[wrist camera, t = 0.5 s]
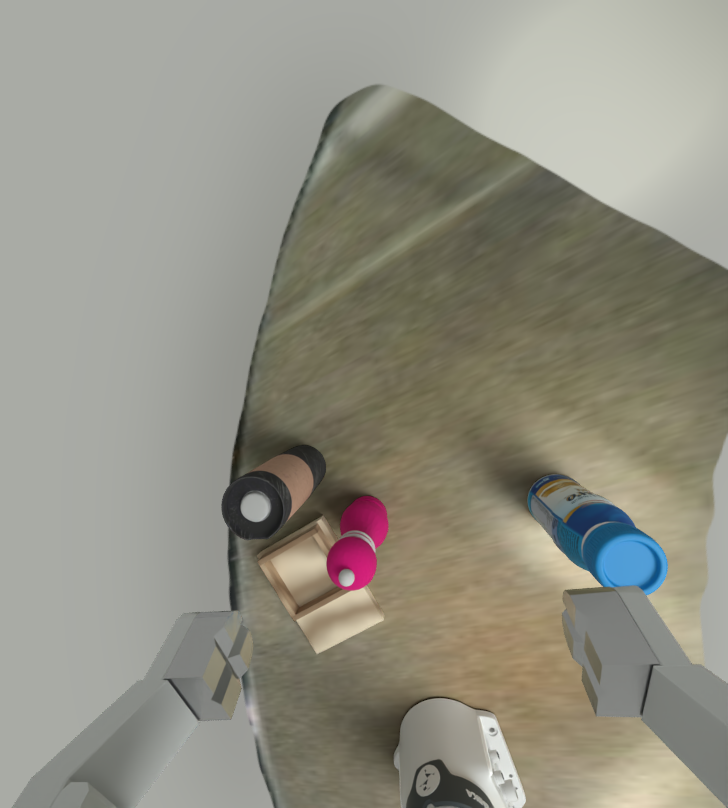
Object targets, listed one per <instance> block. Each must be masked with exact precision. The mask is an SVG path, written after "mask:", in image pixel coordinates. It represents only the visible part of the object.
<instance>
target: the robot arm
mask: <svg viewBox="0 0 728 808" xmlns="http://www.w3.org/2000/svg"><path fill="white" fill-rule="evenodd" d="M563 602H564V605H565V607H566V610H565V611H564V612H563V613H562V624H563V629H564V635H565V638H566V641H567V644H568V647H569V650H570V652H571V655H572V658H573V659H574V660H575V661H576V662H578V663H579V664H580V665H581V666H582V667H583V668H582V682H583V685H584V687H585V690H586V692H587V695H588V697H589V700H590V702H591V705H592V707H593V709H594V712H595V714H596V716H607V717H642V719H641V720H642V721H643V722H644V723H645V724H646V725H647V726H648V727H649V728H650V729H651V730H652V731H653V732H654V733H655V734H656V735H657V736H658V737H659V738H660V739H661V740H662V741H663V742H664V743H665V745H666V746H667V747H668V748H669V749H670V750H671V751H672V752H673V753H674V754H675V755H676V756H677V757H678V758H679V759H680V760H681V761H682V762H683V763H684V764H685V765H686V766H687V767H688V768H689V769H690V770H691V771H692V772H693V773H694V774H695V775H696V776H697V777H698V779H699V780H700V781H701V782H702V783H703V784H704V785H705V786H706V787H707V788H708V789H709V790H710V791H711V792H712V793H713V794H714V795H715V796H716V797H717V798H718V799H719V800H720V801H721V802H722V803H723V804H724V805H725V806H726V807H727V808H728V684H727V683H726V682H725V681H723V680H722V679H720V678H719V677H718V676H716V675H715V674H713V673H712V672H711V671H709V670H708V669H707V668H705V667H704V666H702V665H701V664H692V663H691V662H690V660H689V659H688V657H687V656H686V654H685V653H684V651H683V650H682V648H681V647H680V645H679V644H678V642H677V641H676V639H675V638H674V636H673V635H672V633H671V632H670V630H669V629H668V627H667V626H666V624H665V623H664V621H663V620H662V618H661V617H660V615H659V614H658V612H657V611H656V609H655V608H654V606H653V605H652V603H651V602H650V600H649V599H648V598H647V596H646V595H645V593H644V592H643V590H642V589H640V588H639V587H638V586H634V585H633V586H621V587H598V588H585V589H572V590H565V591H564V592H563ZM242 620H243V618H242V616H241V614H240V613H239V611H220V612H195V613H184V614H182V615H181V616H180V617H179V618H178V619H177V620H176V622H175V624H174V626H173V628H172V629H171V631H170V633H169V635H168V637H167V639H166V640H165V642H164V644H163V645H162V647H161V649H160V651H159V653H158V655H157V657H156V658H155V660H154V662H153V663H152V665H151V667H150V669H149V671H148V672H147V674H146V676H145V678H144V680H140V681H137V682H136V683H135V684H134V685H133V686H131V687H130V688H129V689H128V690H127V691H126V692H125V693H124V694H123V695H122V696H121V697H120V698H118V699H117V700H116V701H115V702H114V703H113V704H112V705H111V706H110V707H109V708H107V709H106V710H105V711H104V712H103V713H102V714H101V715H100V716H99V717H98V718H97V719H96V720H94V721H93V722H92V723H91V724H90V725H89V726H88V727H87V728H86V729H85V730H83V731H82V732H81V733H80V734H79V735H78V736H77V737H76V738H75V739H74V740H73V741H71V742H70V743H69V744H68V745H67V746H66V747H65V748H64V749H63V750H62V751H60V752H59V753H58V754H57V755H56V756H55V757H54V758H53V759H52V760H51V761H50V762H48V763H47V764H46V765H45V766H44V767H43V768H42V769H41V770H40V771H39V772H38V773H36V774H35V775H34V776H33V777H32V778H31V779H30V781H29V782H28V784H27V786H26V787H25V788H24V790H23V792H22V793H21V795H20V796H19V798H18V799H17V801H16V802H15V804H14V805H13V807H12V808H135V807H136V806H137V804H138V803H139V802H140V800H141V799H142V798H143V797H144V795H145V794H146V793H147V791H148V790H149V789H150V787H151V786H152V785H153V783H154V782H155V781H156V780H157V778H158V777H159V776H160V774H161V773H162V772H163V770H164V769H165V768H166V767H167V765H168V764H169V763H170V761H171V760H172V759H173V757H174V756H175V755H176V754H177V752H178V751H179V750H180V748H181V747H182V746H183V744H184V743H185V742H186V740H187V739H188V738H189V736H190V735H191V734H192V733H193V731H194V730H195V729H196V728H197V726H198V725H199V721H207V720H208V721H209V720H231V718H232V716H233V713H234V710H235V707H236V704H237V701H238V697H239V695H240V692H241V689H242V688H241V684H240V680H239V679H240V677H241V676H242V675H243V674H244V673H245V672H246V671H247V670H248V668H249V665H250V661H251V658H252V652H253V639H252V635H251V633H250V631H249V629H248V628H246V627H245V626H243V625H241V623H242ZM394 765H395V767H396V768H397V769H398V770H399V776H400V799H401V808H522V807H523V805H524V803H525V801H526V798H525V793H524V789H523V787H522V784H521V781H520V779H519V776H518V773H517V771H516V768H515V766H514V763H513V760H512V758H511V755H510V752H509V750H508V747H507V745H506V742H505V739H504V737H503V734H502V731H501V729H500V726H499V724H498V721H497V718H496V716H495V715H494V714H493V713H491V712H488V711H482V710H475V709H472V708H470V707H468V706H466V705H464V704H462V703H460V702H458V701H454V700H451V699H445V698H435V699H429V700H425V701H423V702H420V703H418V704H417V705H415V706H414V707H413V708H411V709H410V710H409V711H408V713H407V714H406V715H405V717H404V719H403V721H402V724H401V728H400V742H399V745H398V747H397V749H396V751H395V753H394Z"/></svg>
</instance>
